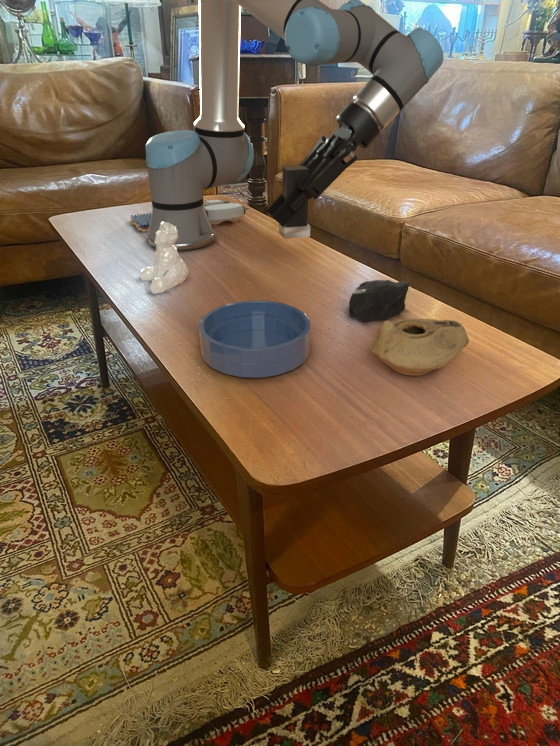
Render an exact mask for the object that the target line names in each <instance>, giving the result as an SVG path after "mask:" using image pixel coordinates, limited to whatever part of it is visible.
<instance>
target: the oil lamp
mask: <svg viewBox="0 0 560 746" xmlns="http://www.w3.org/2000/svg"><path fill="white" fill-rule="evenodd" d="M469 343H470V340H469V337H468V334H467V332H466V329H465V327H464V326H463V325H462V323H460V322H459V321H457V320H452V319H442V320H439V319H431V318H429V319H427V318H408V319H407V318H405V319H399V320H395V321H391V320H385V321H383V322H382V323H381V325H380V326H379V328H378V330H377V333H376V334H375V335H374V336H373V338H372V340H371V343H370V344H368V349H369V350H370V351H371V352H372V353H373V354H374V355H375V356H376V357H377V359H379V360H380V361H381V362H382V363H383V364H385V365H387V366H388V367H390V368H391V369H392V370H393V371H394V372H396V373H399V374H401V375H406V376H424V375H426V374H428V373H431V372H432V371H434V370H438V369H440V368H442V367H444V366H446V365H447V364H449V363H450V362H451V361H453V360H454V359H455V358H456V357H457V356H458V355H459V354H460V353H461V352H462V351H463V350H464V349H465V347H467V345H468V344H469Z"/></svg>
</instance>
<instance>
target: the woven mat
mask: <svg viewBox="0 0 560 746" xmlns="http://www.w3.org/2000/svg"><path fill="white" fill-rule="evenodd" d="M151 215H152V212H149V213H148V212H147V213H141V214H139V213H137V214H134V215H133V214H131V215H130V217H129V219H130V220H129V223H130V224H131V225H132V226H135V227H136V229H137V231H140V232H143V233H144V232H145V233H146V232H148V230H149V225H150V220H151Z"/></svg>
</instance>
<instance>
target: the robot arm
mask: <svg viewBox="0 0 560 746" xmlns="http://www.w3.org/2000/svg"><path fill="white" fill-rule="evenodd" d="M242 9H243V10H244V11H246V12H247V13H249V15H251V16H252V17H253V18H255V19H256V20H257V21H259V22H260V23H262V24H263V25H264V26H265V27H266V28H268V29H270V30H271V32H273V33H274V34H276V35H277V36H278V37H280V39H282V40H284V45H285V47H286V49H287V51H288V53H289V56H290V58H292V59H293V60H294V61H295V62H297V63H298V64H301V65H309V66H315V67H317V66H322V65H331V64H351V63H357V64H359V65H360V66H362V67H363V68H364V69H365V70H366V71H368V72H369V73H370V74H372V76H371V77H370V78H369V79H368V80H367V81H366V82H365V83H364V84H363V86H362V87H361V88H359V90H358V91H357V92H356V94H355V95H354V96H353V97H352V100H353V101H351V102H348V103H347V104H346V105H345V106H344V108H343V109H342V110H341V111H340V112H339V114H337V116H336V122H337V124H338V129H336V130H335V131H334V132H333V133H331V134H329V135H328V137H326V136H325V135H322V136H320V138H319V139H318V141H317V142H316V144H315V146H314V147H313V148H312V149H311V150H310V152H308V153H307V155H306V156H305V158H304V159H303V160H302V161H301V162H300V164H299V165H298V166H305V167H306V168H308V169H309V177H308V179H307V180H306V181H305V182H304V184H303V185H302V186H301V185H299V184H298V185H297V188H298V189H299V190H300V191H299V190H298V189H297V188H296V189H295V191H294V192H293V193H292V194H291V195H290V196H289V197H288V198H287V199H286V201H285V202H284V203H283V204H282V193H281V194H280V195H279V196H278V197H277V198H276V199H275V200H274V201H273V203H271V205H269V207H268V208H267V209H266V212H267V213H268V214H269V215H270V216H271V217H272V218H273V219H274V220H275V221H276V222H277V223H278V225H279V224H280V225H281V226H282V227H283V226H284V225H285V224H286V223H287V222H288V221H289V220H290V219H291V218H292V216H293V215H294V214H295V213H296V212H297V211H298V210H299V209H300V208H301V206H302V205H303V204H304V203H305V202H306V201H307V200H308V201H309V200H311V199H313V200H317V199H318V198H319V197H320V196H321V195H322V194H323V193H325V191H326V190H327V189H328V188H329V187H330V186H331V185H332V184H333V183H334V182H335V181H336V180H337V179H338V177H339V176H341V175H342V174H343V173H344V172H345V171H346V169H347V168H349V167H350V166H352V165H353V164H354V163H355V162H356V161H357V160H358V156H357V154H356V153H355V151H356V150H357V148H358V147H360V148H361V149H367V148H369V147H370V146H371V145H372V144H373V142H374V141H375V140H376V139H377V138H378V137H379V135H380V130H381V131H383V130H385V129H386V128H387V126H388V125H389V124H392V123H394V121H395V118H396V117H397V115H398V114H399V113H400V112H401V111H402V110H403V109H404V108H405V107H406V105H407V104H409V102H410V101H411V100H412V99H413V98H414V97H415V96H416V95H417V94H418V93H419V92H420V91H421V89H423V88H424V87H425V85H427V84H428V83H429V81H430V80H431V79H432V77H433V76H434V75H435V74H436V73H437V71H438V70H439V68H440V67H441V66H442V65H443V62H444V60H445V59H444V58H445V57H444V49H443V48H442V46H441V44H440V41H438V39H437V38H436V37H435V36H434V35H433V34H432V33H431V32H430V31H429V30H427V29H424V28H422V27H415V28H414V29H413V30H412V31H411V32H409V33H407V35H405V34H404V33H402V32H400V31H399V30H398V29H396V27H394V26H393V25H392V24H391V23H389V22H388V21H387V20H386V19H385V18H383V16H381V15H380V14H379V13H378V12H376V10H375V9H374V8H373V7H371V6H370V5H368V4H365V3H364V2H363V1H361V0H348V1H347V2H344V3H343V4H342V5H340V7H339V8H338V9H337V8H332V7H329V6H328V5H326V4H325V3H323V1H321V0H198V22H199V23H198V25H199V26H198V29H199V32H198V34H199V36H198V37H199V89H200V90H199V100H200V101H199V105H200V106H199V107H200V111H199V112H200V113H199V114H200V115H199V116H198V118H197V119H196V120H195V121H194V122H193V130H190V129H177V130H174V131H171V130H170V131H165V132H161V133H158V134H155V135H153V136H152V137H150V138H149V139H148V140H147V142H146V144H145V165H146V167H147V175H148V183H149V190H150V198H151V209H152V211H151V213H152V215H151V220H150V225H149V230H148V231H147V241H148V245H150V246H151V247H152V248H154V249H156V247H157V246H156V245H157V244H155V243H154V241H155V238H156V237H155V236H156V232H157V231H159V229H160V228H159V227H160V223H161V222H162V221H164V222H166V223H167V222H169V223H170V224H172V225H173V226H175V227H176V229H177V230H178V240H177V241H176V242H175V244H174V246H175V247H176V249H177V252H182V251H191V250H198V249H201V248H205V247H207V246H209V245H211V244H212V243H213V242H214V241H215V236H214V234H215V233H214V229H213V227H212V223H211V222H210V221H209V219H208V216H207V214H206V211H205V209H204V207H205V206H204V192H203V191H204V190H209V189H212V188H216V187H221V186H228V185H232V184H234V183H236V182H239V181H242V180H243V179H244V178H245V177H247V176H248V174H249V173H250V171H251V169H252V167H253V163H254V159H255V158H254V157H255V153H254V151H255V149H254V146H253V143H251V138H250V137H249V135H248V134H247V133H246V132H245V124H244V123H243V122H242V121H241V120H240V118H239V102H240V101H239V99H240V60H241V59H240V58H241V56H240V55H241V20H242V19H241V17H242V16H241V13H242Z"/></svg>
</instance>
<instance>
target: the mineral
mask: <svg viewBox="0 0 560 746" xmlns="http://www.w3.org/2000/svg"><path fill="white" fill-rule="evenodd" d="M409 287H410V282H409V281H405V280H404V281H401V280H400V281H397V282H395V281H392V280H389V279H375V280H369V281H364V282H361V283H360V284H359V286H358V287H356V288H355V289H354V291H353V292H352V294H351V296H350V299H349V303H348V312H349V316H350V317H356V318H358V319H360V320H361V321H363V322H371V321H381V320H383V321H384V320H385V321H386V320H389V319H390V318H393V317H395V316H398V315H401V314H402V313H403V311H405V309H406V303H405V301H406V298H407V294H408V291H409Z"/></svg>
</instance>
